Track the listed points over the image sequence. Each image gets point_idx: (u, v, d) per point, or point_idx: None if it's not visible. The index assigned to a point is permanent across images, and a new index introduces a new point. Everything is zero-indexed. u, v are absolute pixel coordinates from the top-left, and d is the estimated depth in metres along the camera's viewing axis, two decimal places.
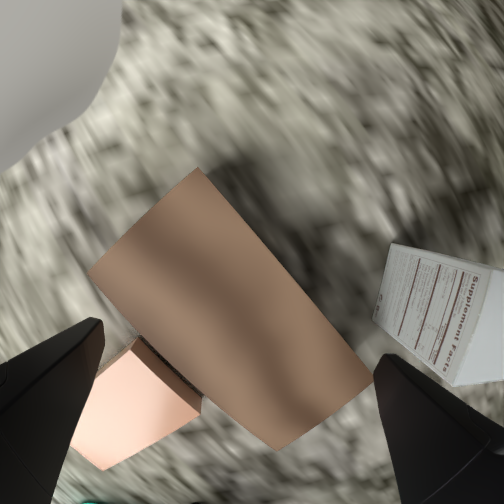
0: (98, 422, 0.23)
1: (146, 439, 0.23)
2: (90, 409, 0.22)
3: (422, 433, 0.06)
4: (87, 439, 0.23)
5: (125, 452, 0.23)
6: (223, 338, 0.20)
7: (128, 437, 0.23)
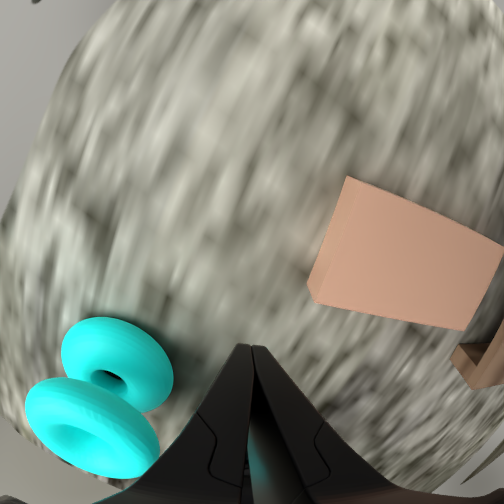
0: (420, 258, 0.19)
1: (420, 314, 0.20)
2: (435, 241, 0.18)
3: (263, 445, 0.06)
4: (376, 258, 0.18)
5: (385, 308, 0.20)
6: None
7: (415, 297, 0.20)
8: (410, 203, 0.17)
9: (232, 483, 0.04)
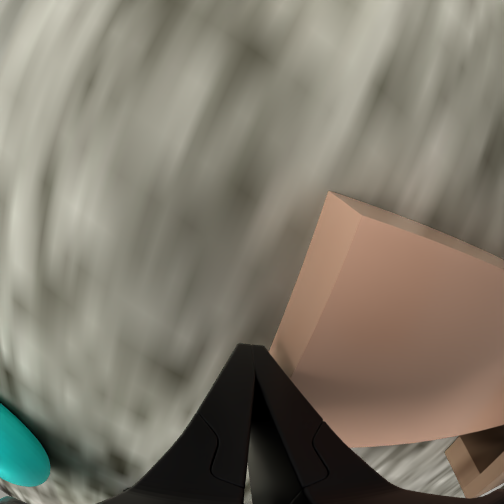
0: (469, 358, 0.08)
1: (448, 429, 0.10)
2: (499, 326, 0.08)
3: (262, 445, 0.06)
4: (386, 374, 0.08)
5: (391, 436, 0.09)
6: None
7: (445, 413, 0.09)
8: (472, 260, 0.07)
9: (234, 483, 0.04)
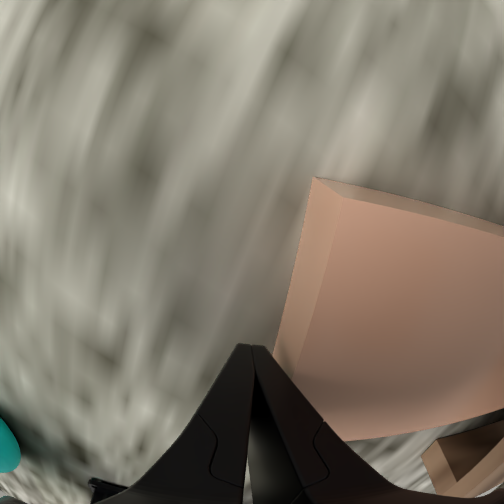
0: (482, 335, 0.08)
1: (469, 410, 0.09)
2: None
3: (263, 445, 0.06)
4: (394, 361, 0.08)
5: (410, 423, 0.09)
6: None
7: (464, 394, 0.09)
8: (471, 231, 0.06)
9: (233, 483, 0.04)
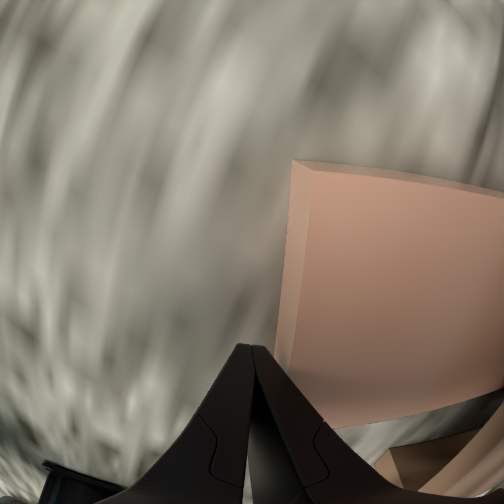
0: (487, 303, 0.07)
1: (485, 384, 0.09)
2: None
3: (263, 445, 0.06)
4: (395, 336, 0.07)
5: (423, 403, 0.09)
6: None
7: (477, 368, 0.08)
8: (458, 193, 0.06)
9: (233, 483, 0.04)
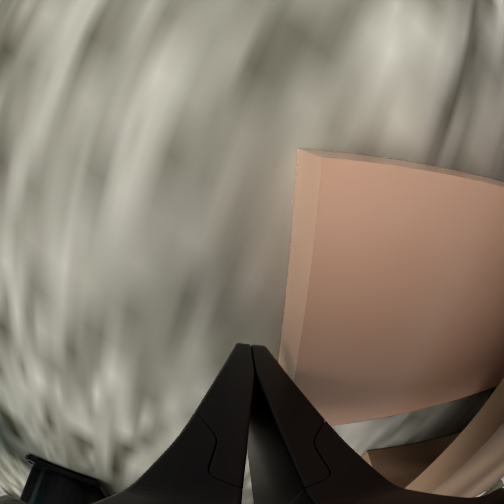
0: (495, 295, 0.07)
1: (492, 378, 0.09)
2: None
3: (263, 445, 0.06)
4: (404, 328, 0.07)
5: (431, 397, 0.09)
6: None
7: (484, 361, 0.08)
8: (466, 182, 0.06)
9: (232, 483, 0.04)
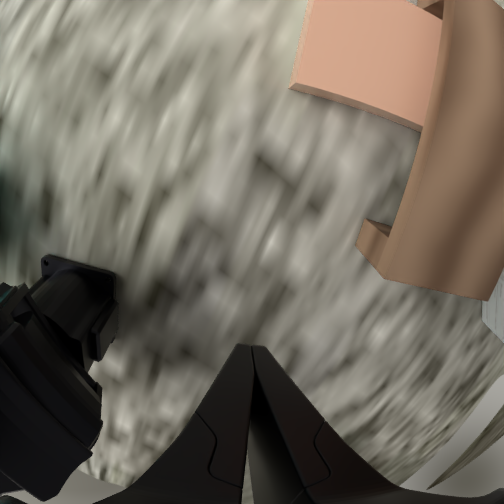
0: (411, 45, 0.13)
1: None
2: (422, 31, 0.13)
3: (263, 445, 0.06)
4: (358, 35, 0.13)
5: (387, 100, 0.15)
6: (490, 122, 0.12)
7: (421, 93, 0.14)
8: None
9: (232, 483, 0.04)
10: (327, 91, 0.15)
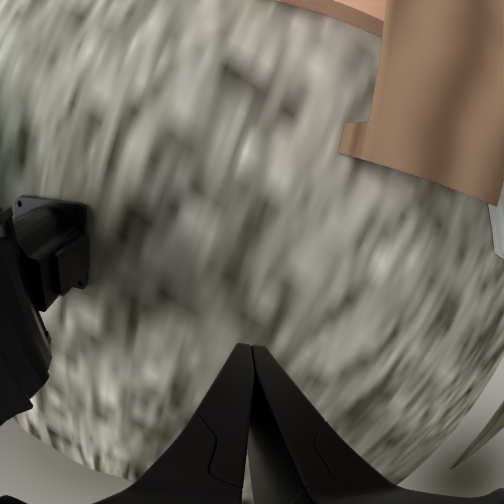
0: None
1: None
2: None
3: (263, 445, 0.06)
4: None
5: None
6: (455, 11, 0.10)
7: None
8: None
9: (232, 483, 0.04)
10: None
